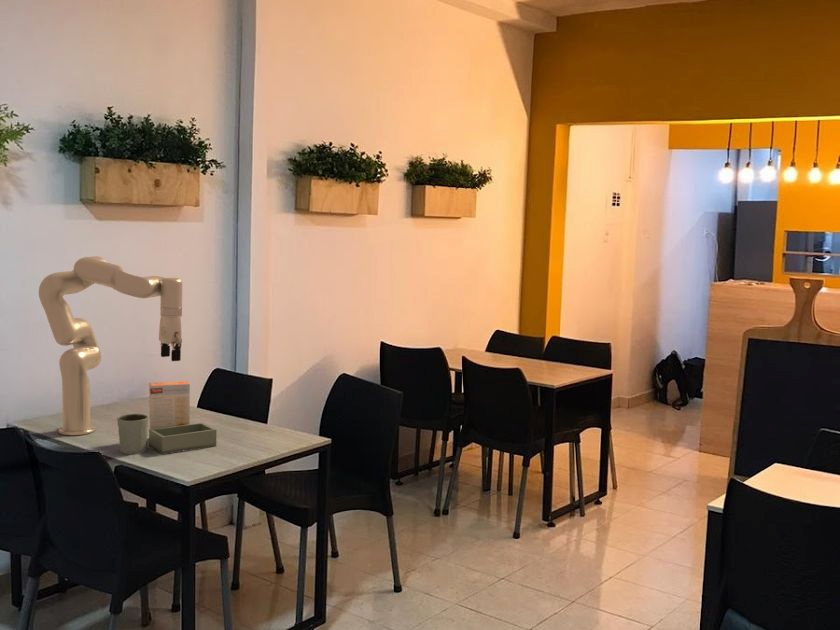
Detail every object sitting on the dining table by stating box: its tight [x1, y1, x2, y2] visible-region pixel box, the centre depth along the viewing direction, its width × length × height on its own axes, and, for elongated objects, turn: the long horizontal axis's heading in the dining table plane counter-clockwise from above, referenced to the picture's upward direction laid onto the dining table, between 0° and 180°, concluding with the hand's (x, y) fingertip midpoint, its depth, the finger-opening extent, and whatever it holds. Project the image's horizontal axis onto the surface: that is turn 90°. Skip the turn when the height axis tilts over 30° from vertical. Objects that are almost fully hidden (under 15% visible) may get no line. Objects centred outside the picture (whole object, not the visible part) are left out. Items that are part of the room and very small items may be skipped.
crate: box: [148, 422, 217, 455], centre depth 302 cm, size 12×20×6 cm, turn 129°
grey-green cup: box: [116, 413, 149, 455], centre depth 294 cm, size 10×10×12 cm
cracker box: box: [148, 380, 191, 430], centre depth 310 cm, size 14×6×21 cm, turn 111°
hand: (170, 358), depth 308 cm, fingers open, 9 cm apart
